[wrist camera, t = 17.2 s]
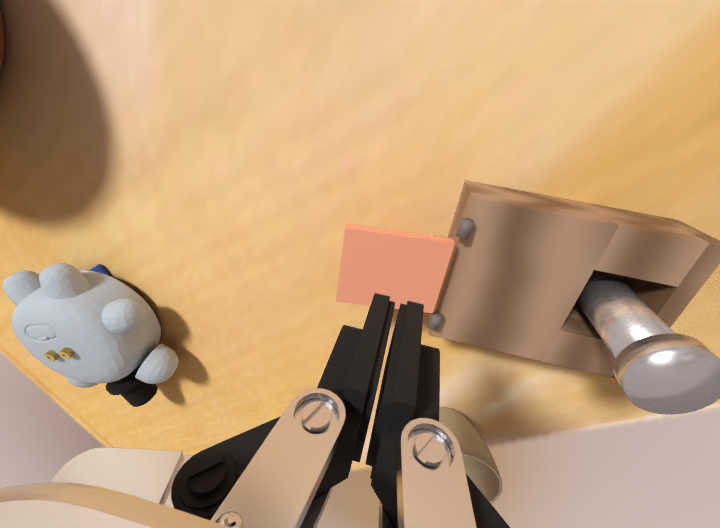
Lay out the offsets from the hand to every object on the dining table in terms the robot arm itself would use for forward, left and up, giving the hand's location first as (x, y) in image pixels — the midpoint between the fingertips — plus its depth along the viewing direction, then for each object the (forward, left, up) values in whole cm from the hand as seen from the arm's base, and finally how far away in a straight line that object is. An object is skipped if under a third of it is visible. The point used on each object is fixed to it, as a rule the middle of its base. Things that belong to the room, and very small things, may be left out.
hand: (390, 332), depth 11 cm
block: (-12, +4, -18) cm, 22 cm away
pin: (-16, +4, -18) cm, 24 cm away
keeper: (0, +4, -12) cm, 13 cm away
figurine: (+32, +23, -19) cm, 44 cm away
